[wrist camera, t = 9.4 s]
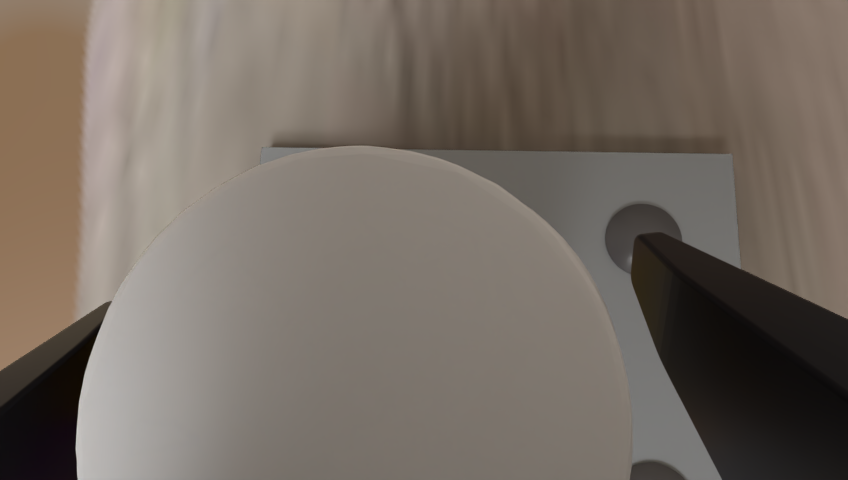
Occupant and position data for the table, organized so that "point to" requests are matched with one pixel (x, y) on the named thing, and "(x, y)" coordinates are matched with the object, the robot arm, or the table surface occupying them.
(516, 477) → the supplement bottle
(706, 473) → the plate
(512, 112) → the table surface
